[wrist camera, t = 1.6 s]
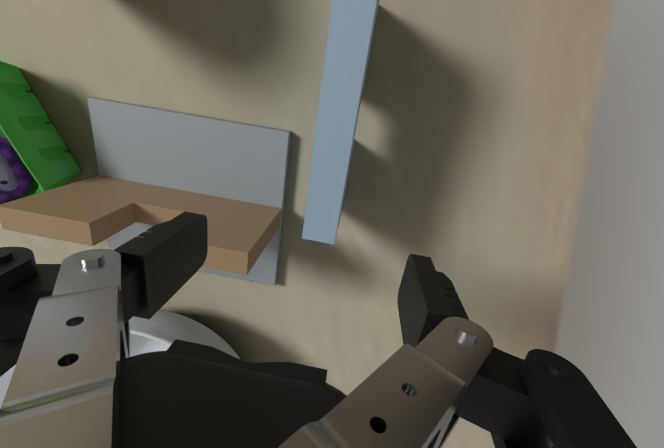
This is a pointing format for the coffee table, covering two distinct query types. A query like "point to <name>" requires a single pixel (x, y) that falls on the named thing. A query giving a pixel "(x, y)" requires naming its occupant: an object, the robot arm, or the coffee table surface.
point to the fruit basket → (28, 142)
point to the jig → (172, 187)
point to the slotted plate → (338, 114)
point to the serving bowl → (171, 333)
